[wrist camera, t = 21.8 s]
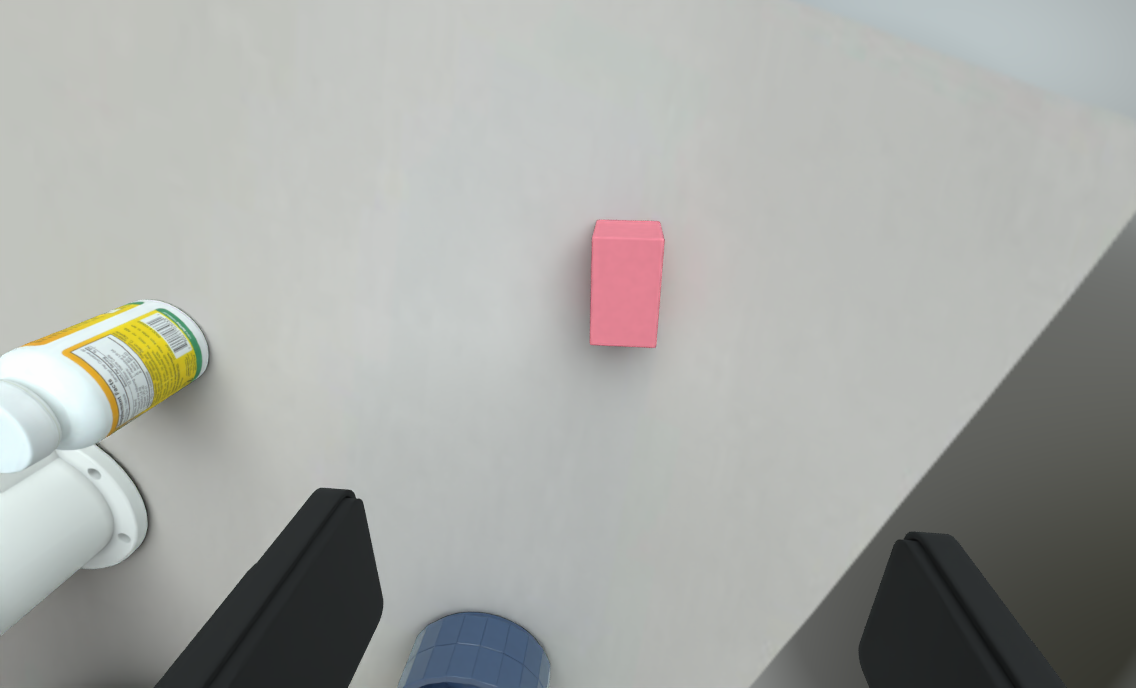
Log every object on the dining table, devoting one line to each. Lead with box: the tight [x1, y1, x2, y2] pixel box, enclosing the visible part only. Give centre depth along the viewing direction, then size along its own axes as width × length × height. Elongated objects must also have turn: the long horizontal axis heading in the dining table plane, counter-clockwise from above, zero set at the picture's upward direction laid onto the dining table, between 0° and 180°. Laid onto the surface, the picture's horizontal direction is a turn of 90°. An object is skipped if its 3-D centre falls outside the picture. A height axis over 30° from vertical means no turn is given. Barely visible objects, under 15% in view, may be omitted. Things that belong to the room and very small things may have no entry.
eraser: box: [590, 220, 665, 348], centre depth 24 cm, size 5×3×4 cm, turn 0°
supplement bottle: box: [0, 300, 209, 473], centre depth 26 cm, size 5×5×10 cm
